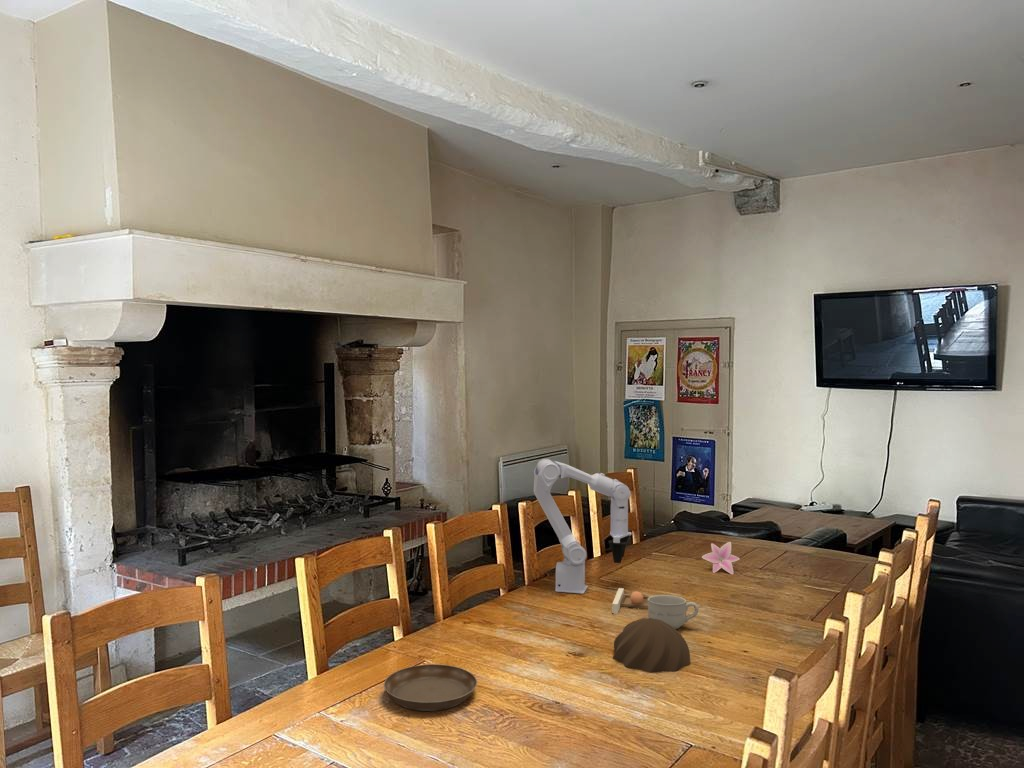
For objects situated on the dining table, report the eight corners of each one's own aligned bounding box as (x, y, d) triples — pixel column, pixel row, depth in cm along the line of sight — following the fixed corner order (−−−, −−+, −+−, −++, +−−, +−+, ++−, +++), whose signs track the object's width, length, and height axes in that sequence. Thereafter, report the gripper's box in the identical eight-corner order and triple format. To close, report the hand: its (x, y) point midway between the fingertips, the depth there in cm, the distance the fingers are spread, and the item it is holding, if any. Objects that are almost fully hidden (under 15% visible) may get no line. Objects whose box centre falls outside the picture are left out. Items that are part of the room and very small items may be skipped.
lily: (696, 572, 270) (700, 552, 265) (710, 553, 278) (714, 534, 273) (727, 587, 263) (732, 567, 258) (741, 568, 271) (745, 548, 266)
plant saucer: (431, 669, 181) (431, 655, 181) (495, 693, 168) (495, 678, 168) (364, 698, 165) (364, 683, 165) (430, 727, 152) (430, 711, 152)
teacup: (642, 629, 208) (642, 601, 208) (653, 617, 218) (654, 590, 217) (692, 638, 201) (692, 608, 201) (701, 625, 211) (702, 597, 211)
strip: (612, 613, 221) (612, 603, 221) (618, 597, 236) (618, 588, 236) (617, 614, 220) (617, 604, 220) (623, 597, 236) (623, 588, 236)
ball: (630, 605, 229) (629, 602, 226) (631, 592, 231) (630, 589, 227) (643, 606, 228) (642, 603, 225) (644, 593, 230) (643, 590, 226)
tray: (620, 607, 227) (620, 603, 227) (623, 598, 235) (624, 594, 235) (651, 610, 224) (651, 606, 224) (653, 600, 233) (653, 596, 233)
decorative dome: (638, 678, 176) (638, 637, 175) (598, 648, 194) (599, 610, 194) (706, 667, 183) (707, 626, 182) (662, 639, 201) (662, 602, 201)
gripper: (629, 524, 238) (628, 566, 238) (633, 515, 252) (633, 555, 252) (607, 522, 239) (606, 564, 240) (612, 514, 253) (612, 553, 254)
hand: (618, 559), depth 246 cm, fingers open, 7 cm apart
